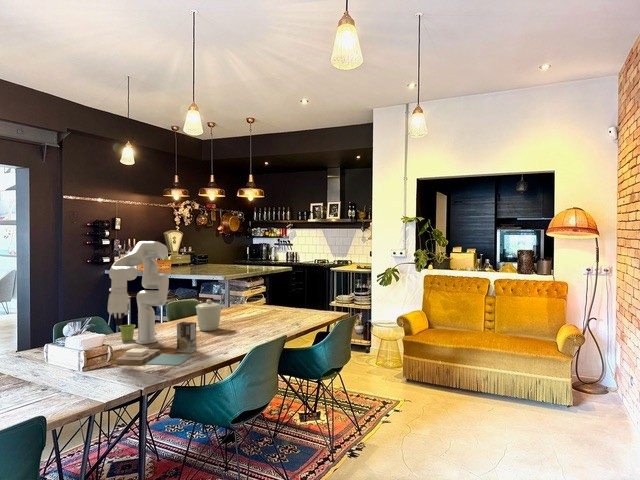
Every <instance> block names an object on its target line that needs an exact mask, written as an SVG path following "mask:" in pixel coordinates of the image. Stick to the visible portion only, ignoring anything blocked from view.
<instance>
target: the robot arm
mask: <svg viewBox="0 0 640 480" xmlns="http://www.w3.org/2000/svg"><path fill="white" fill-rule="evenodd" d="M168 253H169V250H168V247H167V245H165V244H163V243H161V242H160V241H155V240H154V241H153V240H148V241H147V240H141V241H138V242H137V243H136V244H135V246H134V247H133V249H132V250H131V251H130V253H128V254H126V255H125V256H123V257H121V258H119V259H117V260H116V261H114V263H113V264H112V265H111V267H110V269H109V271H108V275H109V279H111V287H110V288H109V290H108V291H109V292H110V293H109V295H108V301H107V312H108V314H109V315H112V316H113V317H114V321H115V326H116V327H119V326H122V325H123V318H124V316H127V315H130V298H129V297H130V295H129V292H128V281H133V280H134V281H135V279H136V278H137V276H138V274H139V273H138V270H137V268H136V266H139V265H141V264H143V273H142V278H141V286H142V287H143V288H144V290H140V291H138V292H137V294H136V303H137V311H138V313H137V317H138V318H137V320H138V321H137V323H138V324H137V328H138V329H137V330H138V331H137V333H138V334H137V339H135V343H136V344H140V345H148V344H154V343H157V342H158V338H157V337H155V336H157V332H156V328H155V327H156V325H155V324H156V323H155V321H156V314H155V313H156V312H155V309H154V308H153V307H163V306H165V305H166V303H167V300H168V292H169V286H170V285H169V283H170V282H169V281H170V280H169V276H168V274H166V273H159V264H158V263H157V261H156V260H155V259H165V258H166V257H167V256H168ZM147 289H150V290H147ZM154 289H157V290H154Z"/></svg>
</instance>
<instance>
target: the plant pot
mask: <svg viewBox="0 0 640 480" xmlns="http://www.w3.org/2000/svg"><path fill="white" fill-rule="evenodd" d="M118 328H119V331H120V335H121V339H122V341H123V342H127V341H132V340H133V339H134V335H135V334H134V332H135V328H136V324H124V325H123V324H122V325H120V326H118Z"/></svg>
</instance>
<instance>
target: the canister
mask: <svg viewBox="0 0 640 480" xmlns="http://www.w3.org/2000/svg"><path fill="white" fill-rule="evenodd" d="M222 307H223V305H222V304H220V303H219V302H218V303H217V302H212V300H211V299H206V302H203V303H199V304H197V305H196V306H195V309H196V315H197V317H196V318H197V325H198V328H199V330H200V331H204V332H213V331H216V330H218V328H219V327H220V321H221V320H220V319H221V313H222Z"/></svg>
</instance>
